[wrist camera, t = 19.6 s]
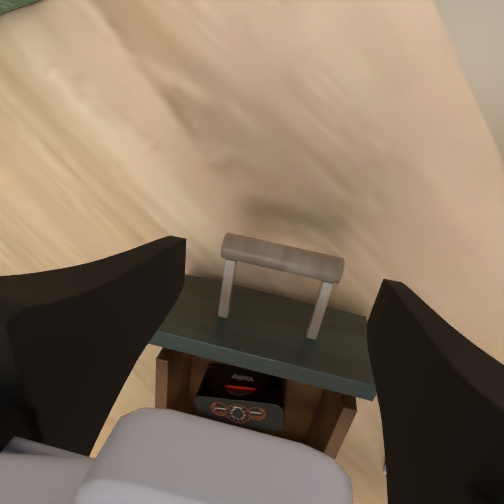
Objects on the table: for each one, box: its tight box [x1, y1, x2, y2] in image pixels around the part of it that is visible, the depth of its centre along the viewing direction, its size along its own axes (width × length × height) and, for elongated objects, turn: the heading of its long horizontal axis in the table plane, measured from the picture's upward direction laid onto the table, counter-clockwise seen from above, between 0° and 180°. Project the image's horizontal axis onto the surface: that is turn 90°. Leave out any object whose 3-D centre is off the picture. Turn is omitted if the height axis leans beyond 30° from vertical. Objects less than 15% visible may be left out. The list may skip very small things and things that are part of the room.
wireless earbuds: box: [194, 366, 287, 432], centre depth 24 cm, size 5×7×3 cm, turn 94°
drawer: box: [149, 233, 377, 460], centre depth 23 cm, size 20×13×6 cm, turn 172°
